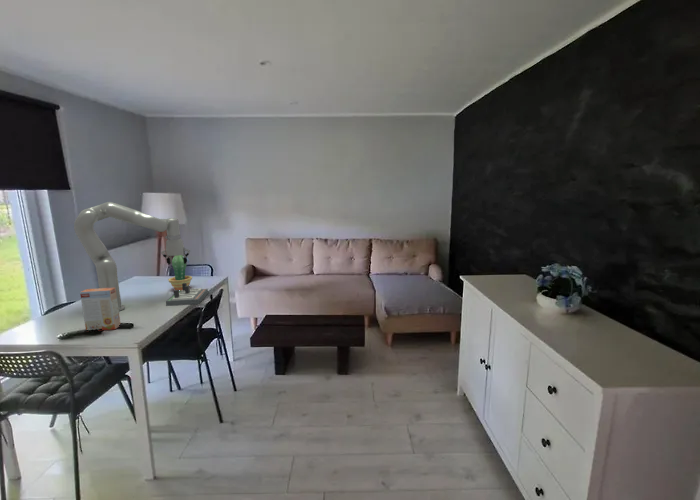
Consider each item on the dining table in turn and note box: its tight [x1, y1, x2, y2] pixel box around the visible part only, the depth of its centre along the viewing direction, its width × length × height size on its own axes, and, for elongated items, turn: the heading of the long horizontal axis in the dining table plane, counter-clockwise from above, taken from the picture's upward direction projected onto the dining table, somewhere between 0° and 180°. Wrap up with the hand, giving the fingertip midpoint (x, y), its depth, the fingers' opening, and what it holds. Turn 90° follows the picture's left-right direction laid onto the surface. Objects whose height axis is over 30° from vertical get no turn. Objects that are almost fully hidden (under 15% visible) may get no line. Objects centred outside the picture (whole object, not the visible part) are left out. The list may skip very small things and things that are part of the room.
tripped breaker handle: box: [185, 285, 191, 293], centre depth 226 cm, size 2×2×4 cm
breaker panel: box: [165, 283, 209, 307], centre depth 227 cm, size 23×19×8 cm
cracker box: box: [79, 287, 121, 331], centre depth 179 cm, size 14×6×21 cm, turn 96°
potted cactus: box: [167, 255, 193, 291], centre depth 249 cm, size 15×15×25 cm
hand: (177, 263), depth 228 cm, fingers open, 9 cm apart
